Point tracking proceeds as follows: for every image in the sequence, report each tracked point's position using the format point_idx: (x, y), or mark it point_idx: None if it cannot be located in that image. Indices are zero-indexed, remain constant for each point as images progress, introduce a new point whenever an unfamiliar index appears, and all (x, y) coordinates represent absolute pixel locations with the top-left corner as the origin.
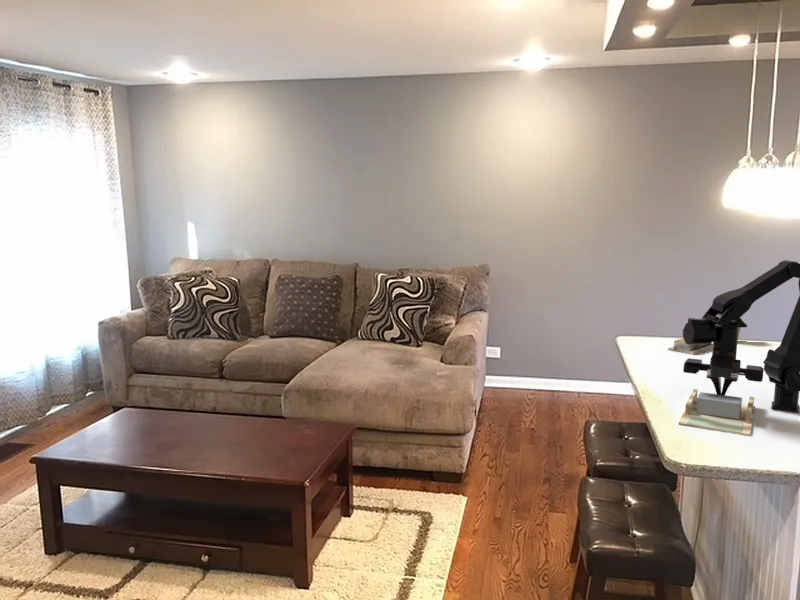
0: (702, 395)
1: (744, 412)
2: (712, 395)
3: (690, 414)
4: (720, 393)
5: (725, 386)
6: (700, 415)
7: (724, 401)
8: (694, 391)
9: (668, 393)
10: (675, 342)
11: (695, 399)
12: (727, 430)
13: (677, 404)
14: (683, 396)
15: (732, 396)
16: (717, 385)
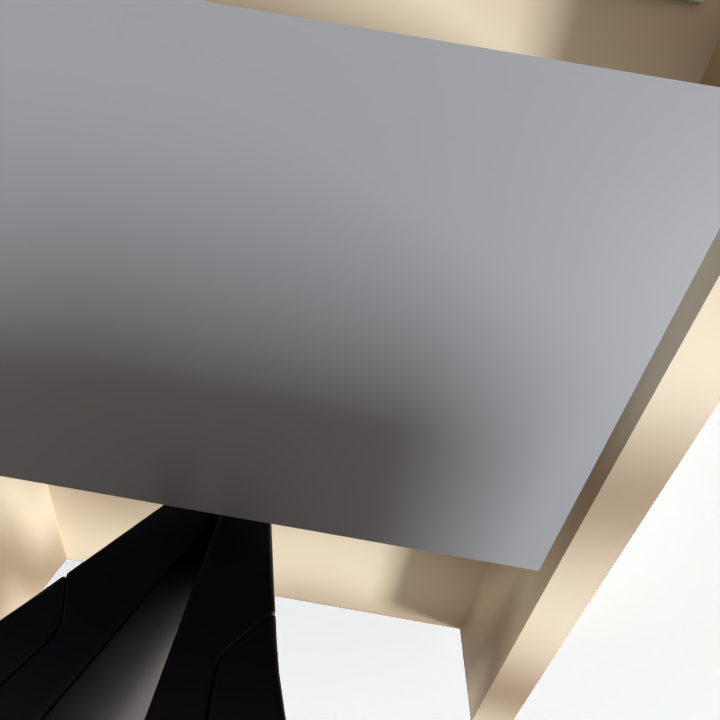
0: (550, 396)
1: None
2: (342, 444)
3: (704, 32)
4: (210, 551)
5: (4, 683)
6: (544, 40)
7: (43, 31)
8: (519, 675)
9: (660, 690)
10: None
11: (498, 571)
12: None
13: (688, 474)
14: None
15: (19, 474)
16: (198, 716)
